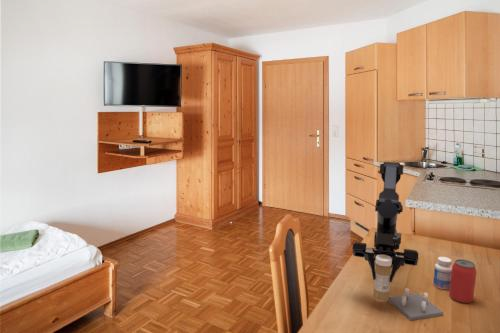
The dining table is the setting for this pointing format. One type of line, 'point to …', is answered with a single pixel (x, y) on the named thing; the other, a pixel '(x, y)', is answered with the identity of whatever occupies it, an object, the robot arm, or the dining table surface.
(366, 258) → the robot arm
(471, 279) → the beer can
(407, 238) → the dining table surface
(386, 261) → the sprinkles bottle
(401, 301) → the pin tray
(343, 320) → the dining table surface
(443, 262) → the pill bottle
